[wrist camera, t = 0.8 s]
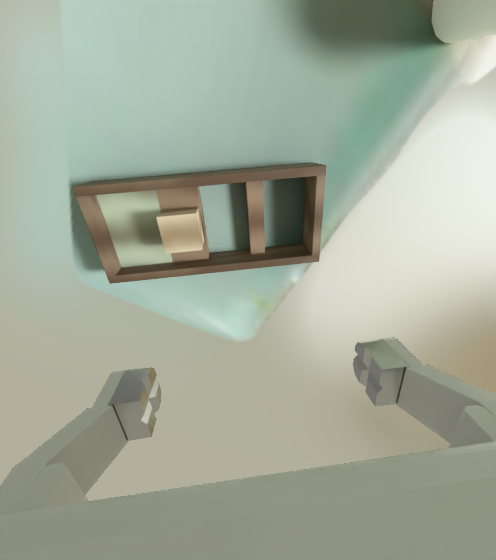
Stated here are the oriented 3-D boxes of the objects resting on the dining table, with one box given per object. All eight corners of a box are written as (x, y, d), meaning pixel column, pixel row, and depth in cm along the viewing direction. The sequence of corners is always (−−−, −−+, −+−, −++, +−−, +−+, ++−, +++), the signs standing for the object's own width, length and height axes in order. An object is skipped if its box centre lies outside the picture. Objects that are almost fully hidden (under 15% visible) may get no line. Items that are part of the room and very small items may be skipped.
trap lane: (91, 181, 31) (72, 187, 27) (313, 162, 32) (326, 165, 28) (121, 268, 37) (109, 283, 33) (308, 249, 38) (319, 261, 34)
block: (162, 209, 32) (156, 217, 28) (198, 206, 32) (196, 213, 29) (170, 243, 34) (165, 253, 31) (203, 240, 34) (202, 249, 31)
